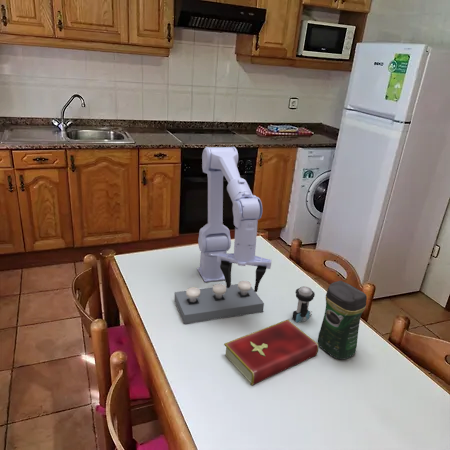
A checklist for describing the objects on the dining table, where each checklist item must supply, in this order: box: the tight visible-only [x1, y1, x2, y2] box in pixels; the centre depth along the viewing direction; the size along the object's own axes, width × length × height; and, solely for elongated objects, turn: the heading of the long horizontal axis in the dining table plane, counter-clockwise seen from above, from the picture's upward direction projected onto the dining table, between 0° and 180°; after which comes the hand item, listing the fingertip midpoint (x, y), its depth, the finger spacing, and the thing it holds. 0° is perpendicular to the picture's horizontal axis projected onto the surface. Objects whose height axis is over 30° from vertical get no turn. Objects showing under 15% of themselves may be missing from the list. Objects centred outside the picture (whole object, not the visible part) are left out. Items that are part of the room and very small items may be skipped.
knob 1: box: [185, 286, 201, 302], centre depth 117 cm, size 4×4×3 cm
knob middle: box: [212, 283, 227, 299], centre depth 120 cm, size 4×4×3 cm
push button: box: [291, 286, 316, 324], centre depth 117 cm, size 7×5×10 cm
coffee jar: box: [317, 280, 368, 360], centre depth 104 cm, size 10×8×19 cm
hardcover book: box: [223, 319, 320, 386], centre depth 102 cm, size 12×21×4 cm, turn 123°
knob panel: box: [174, 283, 265, 325], centre depth 121 cm, size 12×24×3 cm, turn 110°
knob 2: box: [237, 280, 252, 295], centre depth 122 cm, size 4×4×3 cm
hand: (242, 288), depth 112 cm, fingers open, 7 cm apart
